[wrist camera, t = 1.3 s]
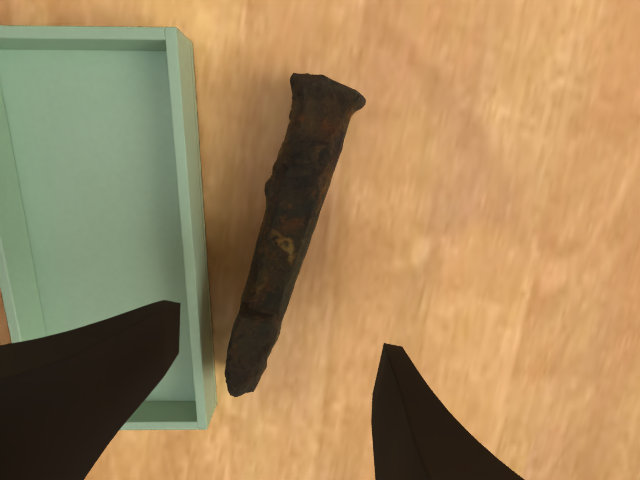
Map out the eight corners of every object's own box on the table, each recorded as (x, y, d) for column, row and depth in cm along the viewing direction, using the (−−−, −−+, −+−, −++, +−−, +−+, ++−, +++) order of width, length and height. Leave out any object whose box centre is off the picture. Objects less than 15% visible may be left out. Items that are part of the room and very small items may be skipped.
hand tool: (297, 76, 21) (292, 54, 16) (362, 102, 21) (374, 87, 17) (206, 356, 25) (180, 401, 20) (261, 374, 25) (249, 422, 21)
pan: (56, 404, 25) (29, 431, 23) (-11, 40, 20) (-55, 24, 18) (217, 403, 26) (207, 429, 23) (192, 42, 20) (176, 26, 18)
